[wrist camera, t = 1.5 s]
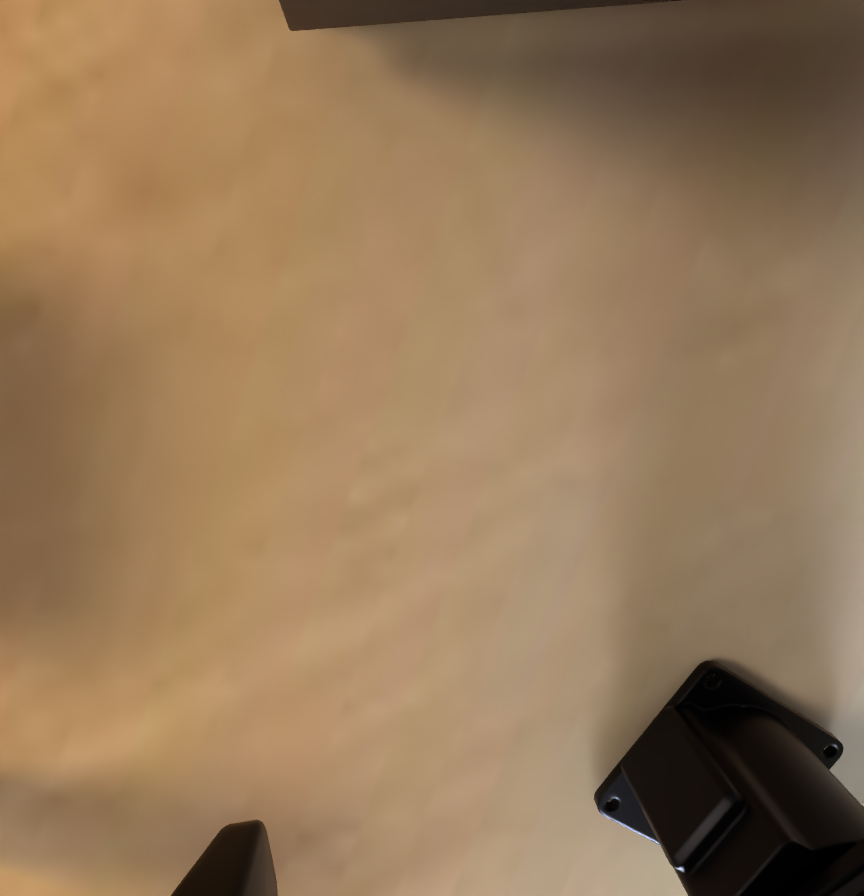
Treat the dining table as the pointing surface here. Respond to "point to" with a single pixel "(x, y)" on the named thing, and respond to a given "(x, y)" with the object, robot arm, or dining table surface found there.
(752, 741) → the robot arm
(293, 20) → the netbook screen
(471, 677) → the dining table surface
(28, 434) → the dining table surface
